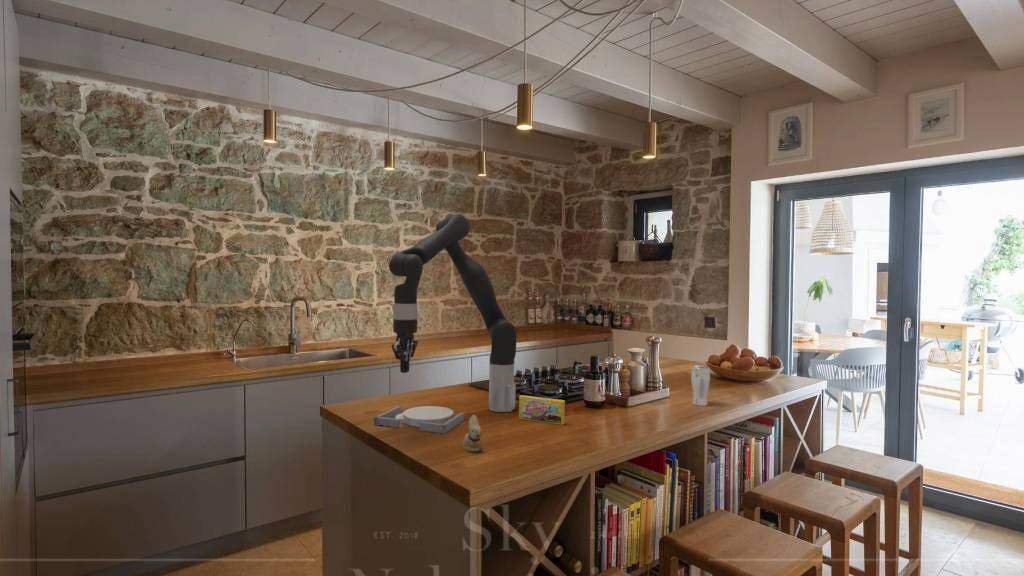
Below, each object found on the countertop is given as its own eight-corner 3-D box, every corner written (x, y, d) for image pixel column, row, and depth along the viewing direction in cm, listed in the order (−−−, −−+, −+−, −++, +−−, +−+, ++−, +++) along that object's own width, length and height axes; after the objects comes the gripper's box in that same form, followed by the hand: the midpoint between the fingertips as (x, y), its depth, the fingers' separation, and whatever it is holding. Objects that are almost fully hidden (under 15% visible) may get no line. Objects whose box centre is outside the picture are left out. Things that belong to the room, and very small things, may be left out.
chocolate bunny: (461, 452, 151) (461, 417, 151) (463, 443, 159) (464, 410, 159) (480, 453, 151) (481, 418, 151) (482, 444, 159) (482, 410, 159)
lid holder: (464, 419, 184) (464, 412, 184) (444, 433, 168) (444, 425, 168) (398, 412, 192) (398, 405, 191) (374, 424, 176) (374, 417, 176)
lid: (402, 413, 192) (402, 405, 192) (457, 415, 191) (457, 406, 191) (388, 427, 175) (388, 418, 175) (448, 429, 174) (448, 420, 174)
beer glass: (710, 403, 213) (711, 366, 212) (706, 407, 207) (707, 369, 206) (692, 401, 217) (693, 364, 216) (688, 404, 211) (689, 367, 210)
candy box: (518, 419, 186) (518, 396, 186) (520, 418, 188) (520, 394, 188) (562, 425, 180) (563, 401, 180) (564, 423, 182) (565, 399, 182)
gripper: (405, 319, 161) (404, 377, 161) (425, 316, 174) (425, 369, 174) (383, 318, 163) (383, 375, 164) (405, 315, 176) (404, 367, 176)
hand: (404, 372), depth 169 cm, fingers closed
